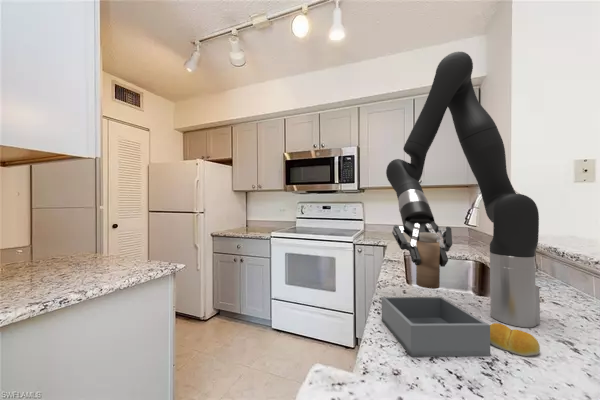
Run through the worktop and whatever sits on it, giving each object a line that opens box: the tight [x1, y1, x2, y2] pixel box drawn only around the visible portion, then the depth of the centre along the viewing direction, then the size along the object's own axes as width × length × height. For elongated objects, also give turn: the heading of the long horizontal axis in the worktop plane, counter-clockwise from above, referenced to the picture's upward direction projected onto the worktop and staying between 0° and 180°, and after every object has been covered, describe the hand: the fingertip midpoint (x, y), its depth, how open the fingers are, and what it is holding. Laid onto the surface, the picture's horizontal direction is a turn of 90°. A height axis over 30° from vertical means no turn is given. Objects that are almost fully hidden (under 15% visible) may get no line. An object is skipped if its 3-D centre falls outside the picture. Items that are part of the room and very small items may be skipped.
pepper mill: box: [415, 232, 441, 290], centre depth 58 cm, size 5×5×12 cm
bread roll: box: [489, 322, 541, 357], centre depth 54 cm, size 8×9×4 cm
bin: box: [381, 296, 491, 358], centre depth 58 cm, size 16×16×6 cm
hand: (430, 263), depth 57 cm, fingers closed on pepper mill, 4 cm apart
